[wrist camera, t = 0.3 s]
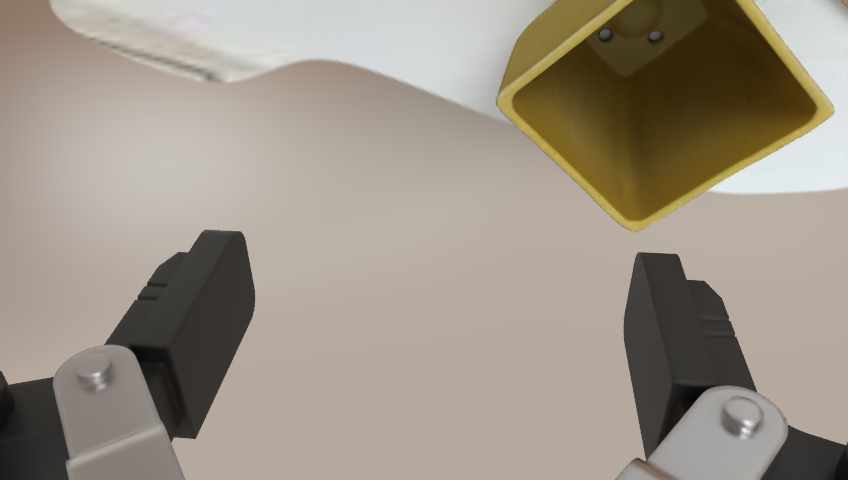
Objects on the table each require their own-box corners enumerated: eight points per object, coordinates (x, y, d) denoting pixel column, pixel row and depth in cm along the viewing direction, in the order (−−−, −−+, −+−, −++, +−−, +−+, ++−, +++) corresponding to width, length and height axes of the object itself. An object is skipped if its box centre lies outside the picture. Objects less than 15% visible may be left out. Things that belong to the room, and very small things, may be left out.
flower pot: (664, -145, 28) (702, -68, 22) (778, 10, 32) (841, 116, 25) (499, 2, 33) (489, 102, 26) (614, 123, 37) (631, 238, 30)
